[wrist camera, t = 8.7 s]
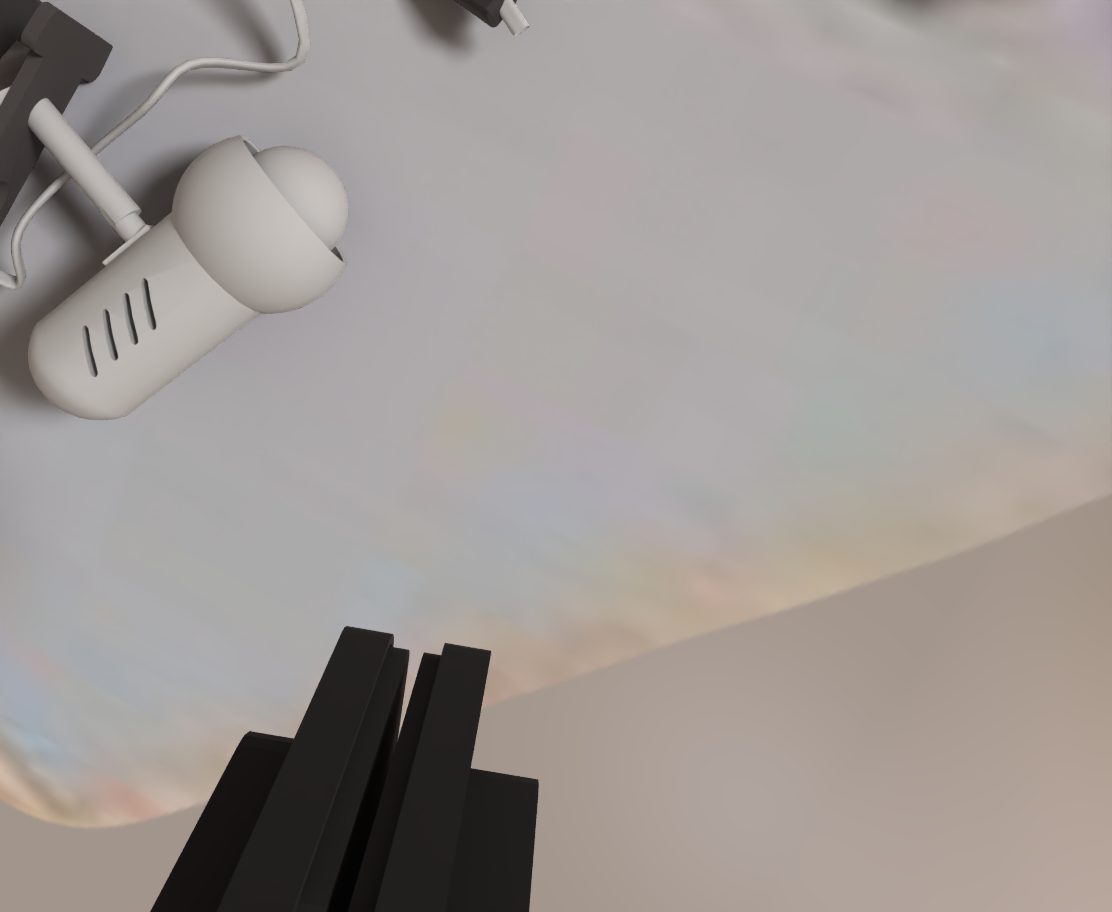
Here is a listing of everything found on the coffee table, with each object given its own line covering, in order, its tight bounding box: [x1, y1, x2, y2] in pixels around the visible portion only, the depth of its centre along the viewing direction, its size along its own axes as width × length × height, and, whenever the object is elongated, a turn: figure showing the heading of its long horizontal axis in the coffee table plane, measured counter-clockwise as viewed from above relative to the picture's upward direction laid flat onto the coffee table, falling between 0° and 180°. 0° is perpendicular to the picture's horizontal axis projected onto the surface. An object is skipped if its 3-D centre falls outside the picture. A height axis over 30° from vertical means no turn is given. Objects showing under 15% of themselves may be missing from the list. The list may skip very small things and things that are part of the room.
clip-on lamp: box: [0, 0, 529, 420], centre depth 27 cm, size 12×6×18 cm
